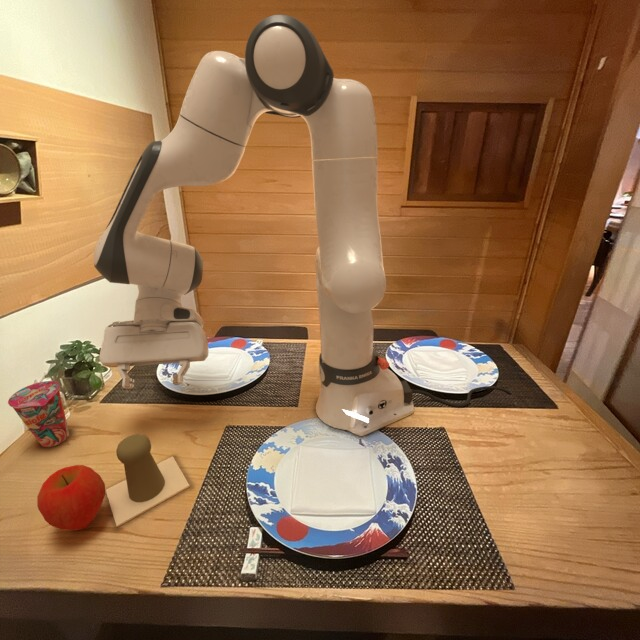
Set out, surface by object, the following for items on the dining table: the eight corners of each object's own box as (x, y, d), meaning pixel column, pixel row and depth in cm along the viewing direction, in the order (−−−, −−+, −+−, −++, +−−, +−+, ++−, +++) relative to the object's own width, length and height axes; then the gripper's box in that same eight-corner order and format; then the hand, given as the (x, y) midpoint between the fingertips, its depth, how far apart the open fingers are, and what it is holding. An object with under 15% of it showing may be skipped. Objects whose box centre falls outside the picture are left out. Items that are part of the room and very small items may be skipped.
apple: (123, 499, 62) (106, 453, 58) (96, 547, 55) (73, 499, 50) (75, 500, 63) (54, 454, 58) (41, 549, 55) (13, 500, 50)
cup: (20, 450, 74) (-4, 403, 69) (56, 422, 81) (37, 378, 76) (56, 457, 72) (34, 409, 67) (90, 428, 79) (72, 383, 74)
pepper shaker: (151, 505, 61) (135, 457, 56) (120, 499, 62) (102, 452, 57) (171, 476, 66) (158, 430, 61) (142, 471, 67) (127, 426, 63)
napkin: (173, 457, 71) (172, 455, 71) (189, 486, 64) (189, 485, 64) (106, 491, 64) (105, 489, 64) (117, 527, 58) (116, 526, 57)
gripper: (97, 317, 70) (87, 387, 65) (203, 310, 71) (201, 379, 66) (113, 327, 76) (106, 392, 71) (211, 321, 77) (209, 385, 72)
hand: (152, 386), depth 69 cm, fingers open, 8 cm apart
